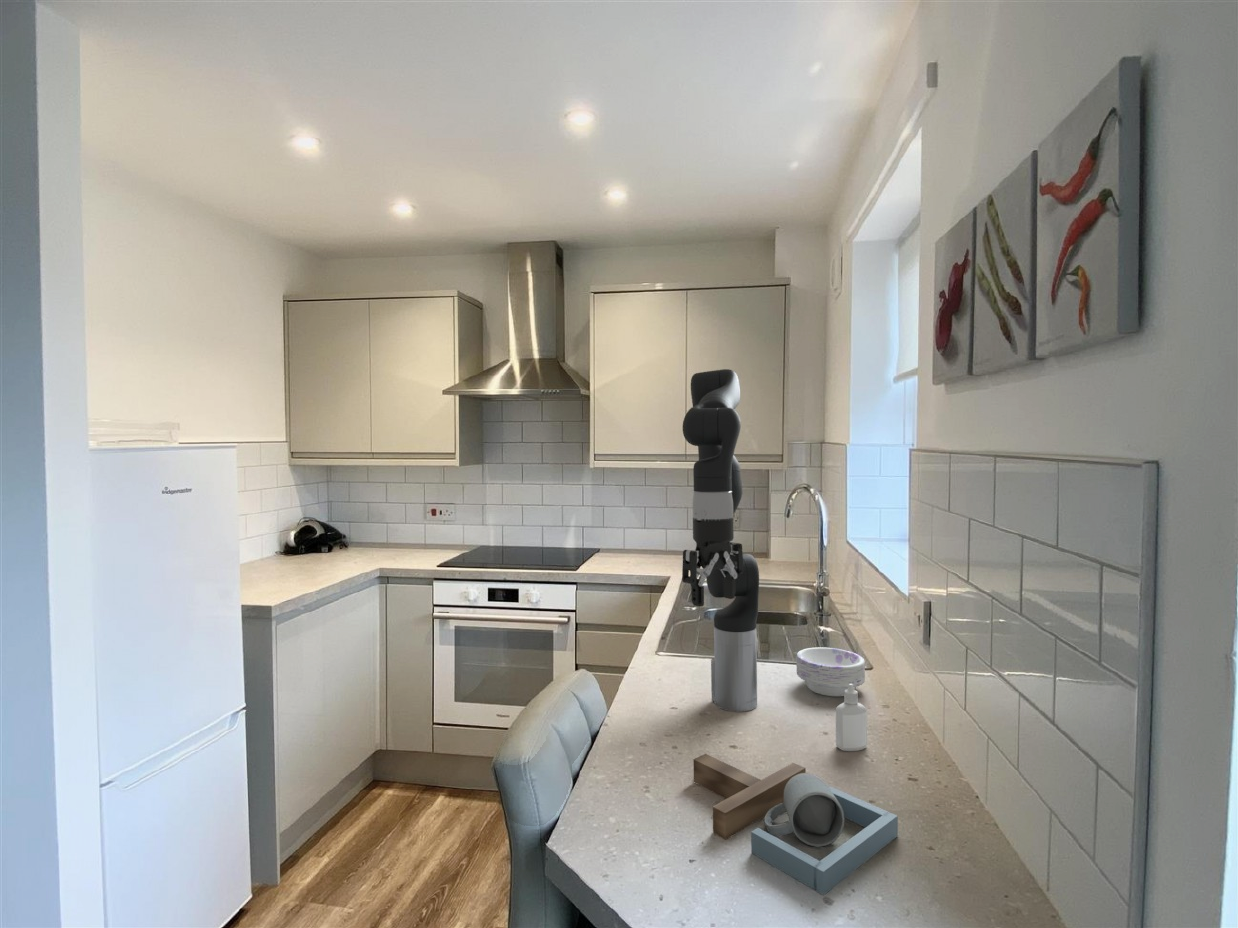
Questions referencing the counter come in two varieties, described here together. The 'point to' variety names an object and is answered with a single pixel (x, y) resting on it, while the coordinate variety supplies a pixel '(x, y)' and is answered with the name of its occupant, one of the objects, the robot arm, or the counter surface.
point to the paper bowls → (830, 670)
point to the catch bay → (840, 861)
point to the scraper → (740, 793)
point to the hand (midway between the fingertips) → (714, 601)
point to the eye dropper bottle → (851, 722)
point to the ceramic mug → (808, 811)
